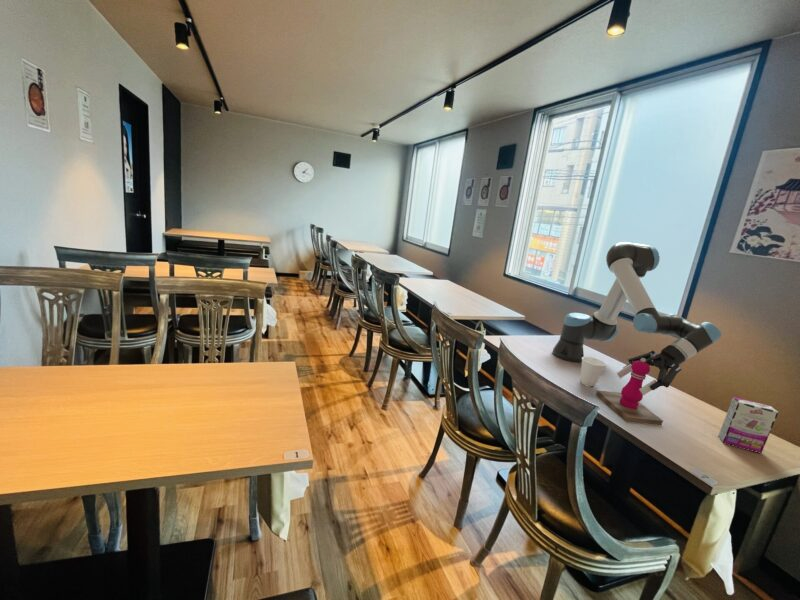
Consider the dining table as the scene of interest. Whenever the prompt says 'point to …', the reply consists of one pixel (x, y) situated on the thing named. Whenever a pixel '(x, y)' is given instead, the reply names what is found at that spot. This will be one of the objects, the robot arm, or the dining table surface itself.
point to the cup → (591, 370)
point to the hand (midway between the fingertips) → (629, 383)
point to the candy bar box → (747, 424)
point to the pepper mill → (634, 384)
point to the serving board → (629, 409)
